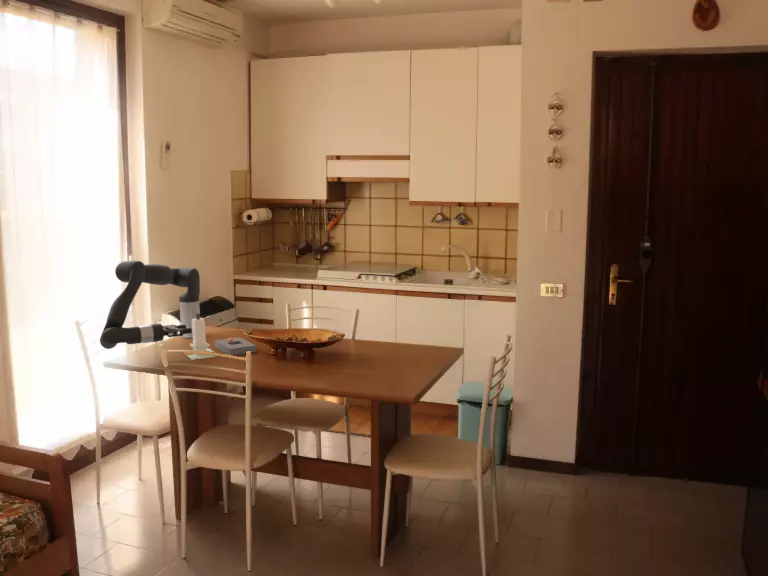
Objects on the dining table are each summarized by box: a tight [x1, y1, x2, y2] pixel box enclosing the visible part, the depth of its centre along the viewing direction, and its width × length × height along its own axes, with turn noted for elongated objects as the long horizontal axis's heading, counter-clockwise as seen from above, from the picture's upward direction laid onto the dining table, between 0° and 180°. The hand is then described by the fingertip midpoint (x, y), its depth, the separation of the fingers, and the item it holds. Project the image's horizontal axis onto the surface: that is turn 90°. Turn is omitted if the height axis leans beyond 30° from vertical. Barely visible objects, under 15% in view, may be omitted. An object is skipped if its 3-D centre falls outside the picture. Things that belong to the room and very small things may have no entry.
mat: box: [187, 347, 217, 361], centre depth 338 cm, size 16×12×1 cm
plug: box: [189, 313, 210, 355], centre depth 337 cm, size 7×7×18 cm
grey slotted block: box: [214, 336, 257, 356], centre depth 346 cm, size 20×12×4 cm, turn 30°
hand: (188, 328), depth 334 cm, fingers open, 8 cm apart
